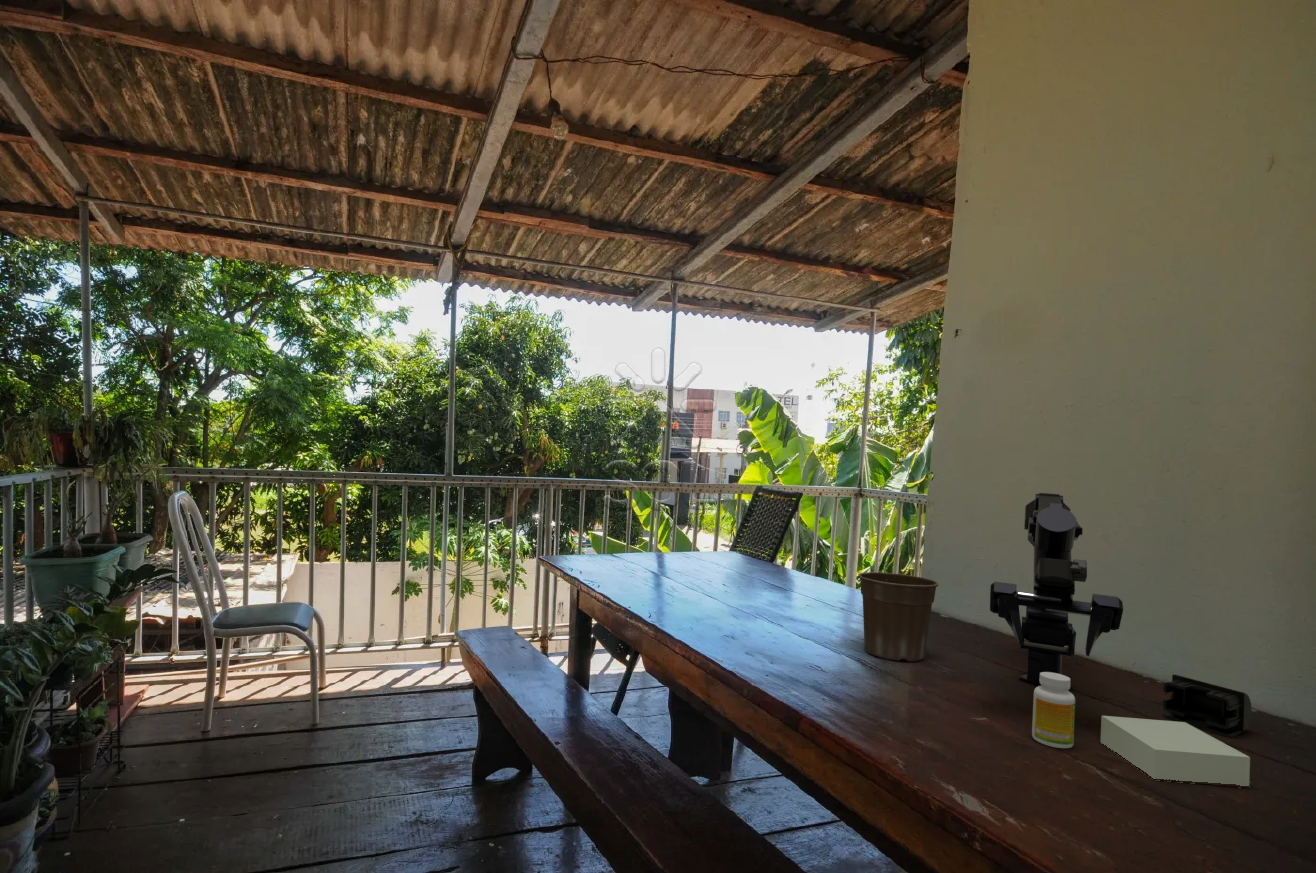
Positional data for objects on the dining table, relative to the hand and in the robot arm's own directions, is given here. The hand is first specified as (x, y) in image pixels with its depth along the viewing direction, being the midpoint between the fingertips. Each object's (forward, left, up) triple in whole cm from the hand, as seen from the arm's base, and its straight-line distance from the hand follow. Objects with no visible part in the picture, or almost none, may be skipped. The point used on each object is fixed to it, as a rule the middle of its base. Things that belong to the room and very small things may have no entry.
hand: (1053, 649), depth 107 cm
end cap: (-28, +11, -13) cm, 32 cm away
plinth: (-3, +15, -12) cm, 20 cm away
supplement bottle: (+5, +3, -12) cm, 14 cm away
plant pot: (-12, -38, -12) cm, 42 cm away
